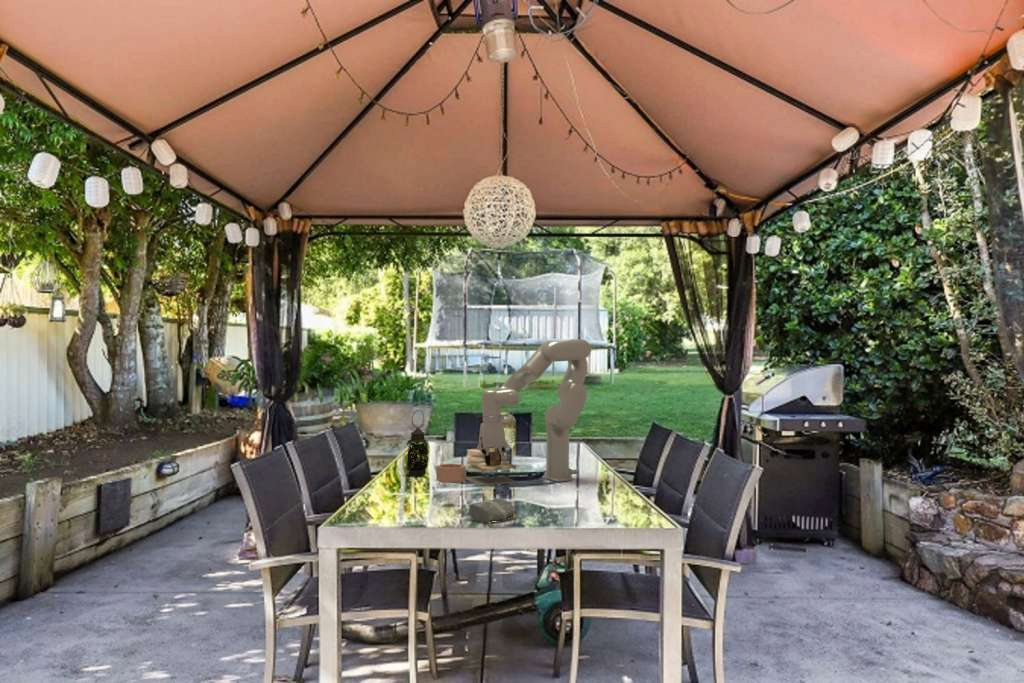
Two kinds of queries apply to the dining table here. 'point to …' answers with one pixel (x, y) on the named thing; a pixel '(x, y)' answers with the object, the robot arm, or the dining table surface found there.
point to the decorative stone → (492, 510)
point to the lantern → (417, 453)
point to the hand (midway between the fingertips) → (493, 463)
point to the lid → (493, 464)
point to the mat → (490, 480)
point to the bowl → (451, 473)
